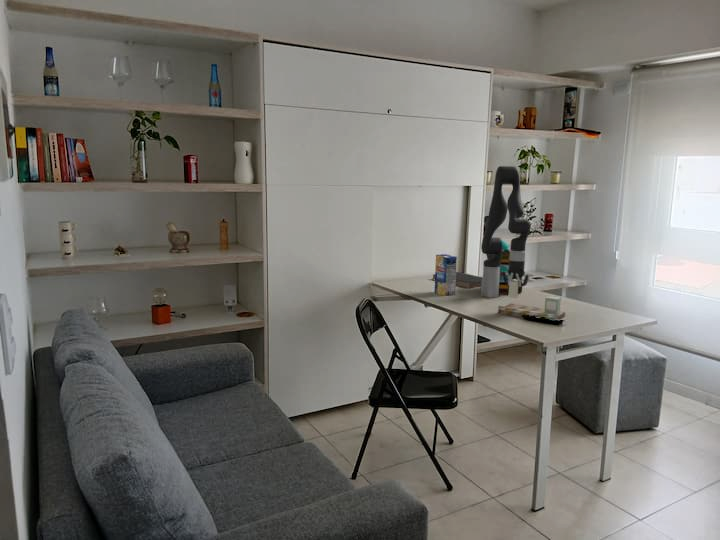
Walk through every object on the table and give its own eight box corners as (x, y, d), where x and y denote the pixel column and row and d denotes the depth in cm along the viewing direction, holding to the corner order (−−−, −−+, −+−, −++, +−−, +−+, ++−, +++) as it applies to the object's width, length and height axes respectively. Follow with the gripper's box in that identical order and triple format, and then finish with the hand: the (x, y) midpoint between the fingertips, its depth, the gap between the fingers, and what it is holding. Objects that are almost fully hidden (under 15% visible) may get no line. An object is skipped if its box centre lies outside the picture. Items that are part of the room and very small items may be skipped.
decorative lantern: (482, 293, 321) (485, 242, 316) (481, 287, 340) (484, 238, 335) (518, 295, 317) (522, 243, 312) (515, 288, 337) (518, 239, 331)
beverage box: (445, 296, 314) (446, 257, 310) (434, 292, 324) (435, 254, 320) (455, 295, 317) (456, 256, 313) (444, 291, 327) (445, 254, 323)
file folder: (432, 274, 361) (459, 271, 375) (432, 280, 362) (458, 277, 375) (469, 282, 334) (496, 279, 348) (469, 289, 335) (496, 285, 349)
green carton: (544, 313, 269) (545, 297, 268) (547, 312, 273) (548, 296, 271) (556, 315, 266) (558, 299, 265) (559, 314, 269) (560, 297, 268)
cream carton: (512, 294, 283) (513, 279, 282) (520, 295, 281) (521, 280, 279) (508, 296, 279) (509, 281, 277) (516, 298, 276) (517, 282, 275)
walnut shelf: (497, 313, 277) (498, 306, 277) (510, 307, 290) (510, 300, 290) (554, 322, 261) (555, 315, 260) (565, 315, 274) (565, 308, 273)
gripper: (500, 258, 277) (498, 292, 281) (528, 262, 269) (525, 296, 272) (506, 256, 283) (504, 289, 287) (533, 260, 275) (531, 293, 278)
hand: (514, 292), depth 279 cm, fingers closed on cream carton, 4 cm apart
